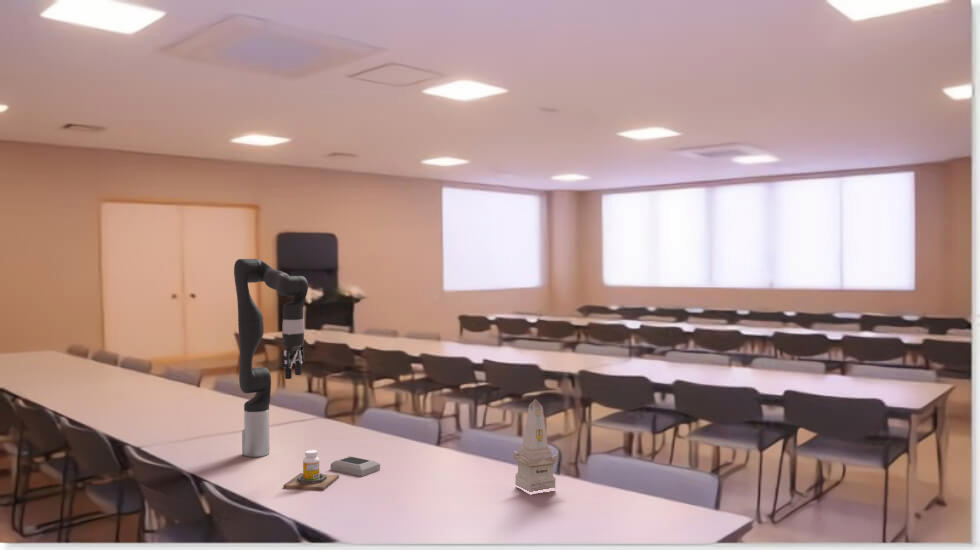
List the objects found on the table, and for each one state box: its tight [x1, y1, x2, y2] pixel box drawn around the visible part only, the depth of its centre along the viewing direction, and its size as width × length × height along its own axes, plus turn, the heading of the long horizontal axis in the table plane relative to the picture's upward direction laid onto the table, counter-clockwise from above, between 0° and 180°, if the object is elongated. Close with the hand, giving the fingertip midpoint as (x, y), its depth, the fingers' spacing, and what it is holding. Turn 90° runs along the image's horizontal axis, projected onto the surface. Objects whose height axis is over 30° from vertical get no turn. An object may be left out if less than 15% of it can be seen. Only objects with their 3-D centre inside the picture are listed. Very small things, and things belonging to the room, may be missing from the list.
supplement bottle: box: [302, 449, 321, 480], centre depth 255 cm, size 5×5×10 cm
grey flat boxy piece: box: [330, 455, 381, 477], centre depth 271 cm, size 10×4×15 cm
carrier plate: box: [282, 472, 340, 491], centre depth 256 cm, size 14×14×2 cm
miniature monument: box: [513, 398, 558, 492], centre depth 249 cm, size 10×10×30 cm
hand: (293, 376), depth 272 cm, fingers open, 8 cm apart
